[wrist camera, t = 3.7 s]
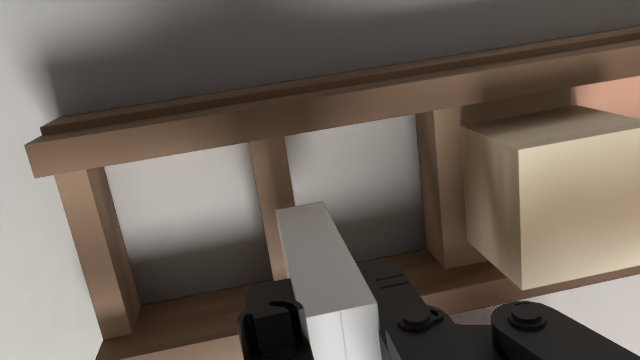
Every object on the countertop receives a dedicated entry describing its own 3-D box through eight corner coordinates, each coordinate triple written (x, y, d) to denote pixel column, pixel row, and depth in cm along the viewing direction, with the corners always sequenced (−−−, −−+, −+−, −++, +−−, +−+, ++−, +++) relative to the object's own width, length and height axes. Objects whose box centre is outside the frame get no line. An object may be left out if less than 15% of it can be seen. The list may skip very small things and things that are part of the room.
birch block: (460, 125, 19) (518, 149, 15) (577, 105, 19) (662, 124, 15) (467, 241, 20) (522, 290, 16) (576, 219, 21) (654, 262, 17)
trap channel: (59, 117, 18) (0, 148, 14) (745, 9, 22) (890, 3, 17) (122, 338, 21) (91, 428, 16) (725, 214, 24) (846, 259, 19)
